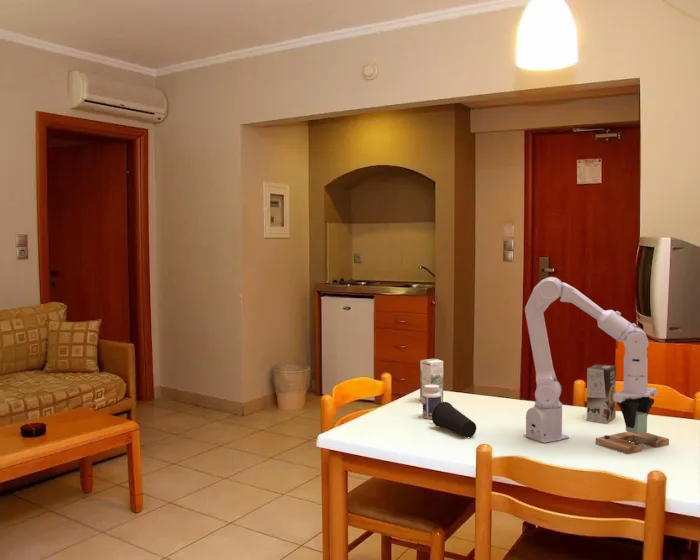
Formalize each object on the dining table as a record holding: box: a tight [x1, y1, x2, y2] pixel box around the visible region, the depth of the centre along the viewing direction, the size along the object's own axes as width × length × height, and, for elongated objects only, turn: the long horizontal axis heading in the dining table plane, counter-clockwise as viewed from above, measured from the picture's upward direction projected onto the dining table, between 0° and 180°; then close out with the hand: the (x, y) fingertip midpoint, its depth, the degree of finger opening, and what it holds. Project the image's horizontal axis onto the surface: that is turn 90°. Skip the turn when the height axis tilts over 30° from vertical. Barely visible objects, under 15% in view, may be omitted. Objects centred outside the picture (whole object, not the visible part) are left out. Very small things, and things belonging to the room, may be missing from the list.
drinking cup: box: [431, 401, 477, 439], centre depth 187 cm, size 8×8×20 cm
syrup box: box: [419, 358, 444, 403], centre depth 222 cm, size 6×6×14 cm
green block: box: [625, 411, 648, 434], centre depth 170 cm, size 4×4×5 cm
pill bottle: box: [422, 385, 441, 420], centre depth 201 cm, size 6×6×10 cm
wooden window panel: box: [595, 431, 670, 455], centre depth 171 cm, size 16×10×3 cm, turn 118°
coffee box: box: [586, 363, 617, 424], centre depth 197 cm, size 9×6×16 cm
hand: (635, 426), depth 170 cm, fingers closed on green block, 4 cm apart
